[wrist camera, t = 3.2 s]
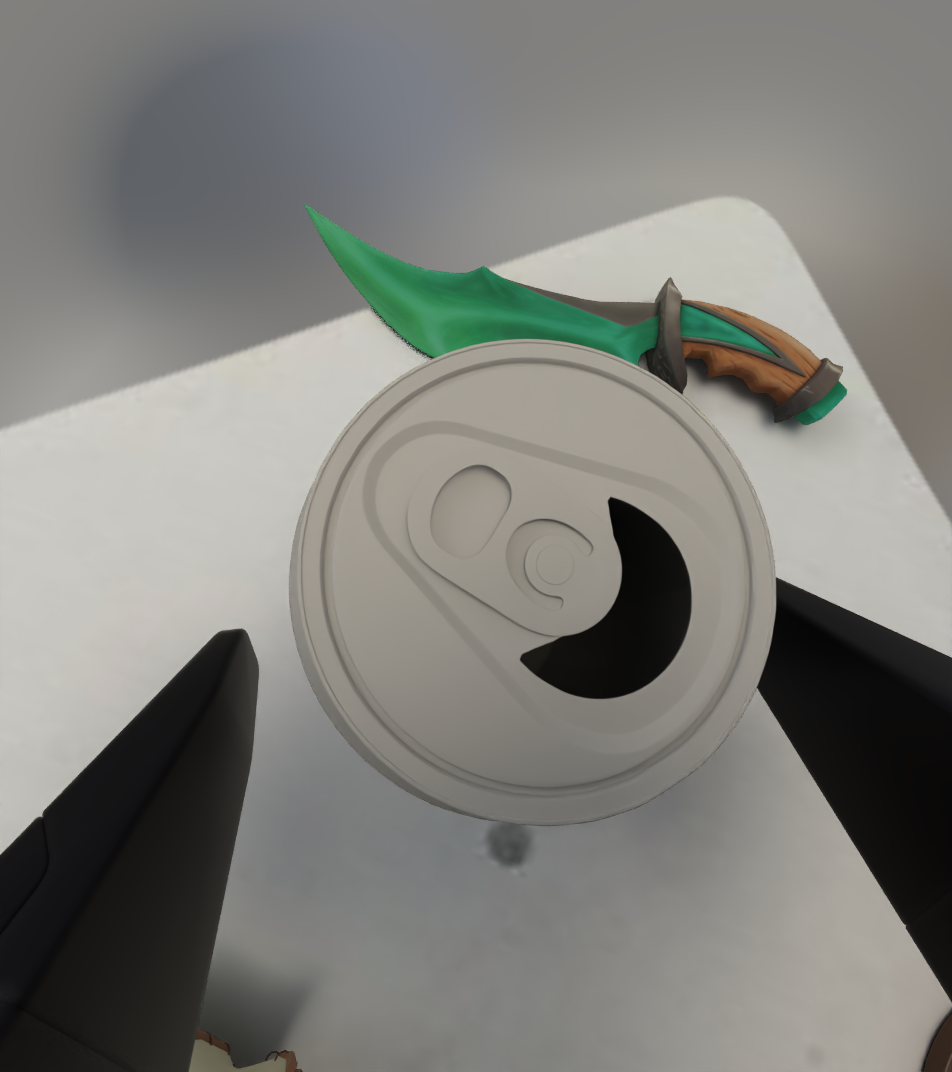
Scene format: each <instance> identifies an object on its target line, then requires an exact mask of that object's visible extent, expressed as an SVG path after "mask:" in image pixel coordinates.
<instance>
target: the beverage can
mask: <svg viewBox="0 0 952 1072" xmlns="http://www.w3.org/2000/svg"><path fill="white" fill-rule="evenodd" d="M289 598H290V612H291V619H292V626H293V632H294V636H295V640H296V645H297V649H298V652H299V655H300V658H301V661H302V664H303V667H304V670H305V673H306V675H307V677H308V680H309V682H310V684H311V687H312V689H313V691H314V693H315V695H316V696H317V698H318V700H319V702H320V704H321V706H322V707H323V709H324V711H325V712H326V714H327V715H328V717H329V718H330V720H331V721H332V723H333V724H334V726H335V727H336V728H337V730H338V731H339V732H340V733H341V735H342V736H343V737H344V738H345V739H346V741H347V742H348V743H349V744H350V745H351V746H352V747H353V749H354V750H355V751H356V752H357V753H358V754H359V755H360V756H361V757H362V758H363V759H364V760H365V761H366V762H368V763H369V764H370V765H371V766H372V767H374V768H375V769H376V770H377V771H378V772H380V773H381V774H382V775H383V776H385V777H386V778H387V779H389V780H390V781H392V782H393V783H394V784H396V785H397V786H399V787H400V788H402V789H404V790H405V791H407V792H409V793H410V794H412V795H414V796H416V797H418V798H420V799H422V800H424V801H426V802H428V803H430V804H433V805H435V806H438V807H440V808H443V809H446V810H449V811H452V812H456V813H459V814H462V815H466V816H470V817H474V818H478V819H484V820H490V821H500V822H506V823H512V824H521V825H534V826H561V825H570V824H578V823H586V822H592V821H597V820H601V819H605V818H608V817H611V816H614V815H617V814H620V813H624V812H627V811H629V810H632V809H635V808H637V807H640V806H642V805H644V804H646V803H648V802H649V801H651V800H653V799H654V798H656V797H658V796H659V795H661V794H662V793H664V792H665V791H667V790H668V789H670V788H671V787H673V786H674V785H676V784H677V783H679V782H680V781H681V780H683V779H684V778H686V777H687V776H688V775H690V774H691V773H693V772H694V771H695V770H696V769H698V768H699V767H700V766H702V765H703V764H704V763H705V762H706V761H707V760H708V759H709V758H710V757H711V756H712V755H713V754H714V752H715V751H716V750H717V749H718V748H719V747H720V745H721V744H722V743H723V742H724V741H725V739H726V738H727V737H728V735H729V734H730V733H731V732H732V730H733V729H734V728H735V726H736V725H737V723H738V722H739V720H740V718H741V717H742V715H743V713H744V712H745V710H746V708H747V706H748V704H749V702H750V701H751V699H752V697H753V695H754V692H755V690H756V688H757V686H758V683H759V680H760V678H761V675H762V672H763V669H764V666H765V663H766V660H767V656H768V653H769V649H770V645H771V640H772V634H773V628H774V621H775V613H776V574H775V563H774V557H773V550H772V545H771V540H770V535H769V530H768V527H767V523H766V519H765V517H764V514H763V511H762V508H761V505H760V502H759V500H758V497H757V495H756V492H755V490H754V488H753V486H752V484H751V482H750V480H749V478H748V476H747V474H746V472H745V470H744V468H743V467H742V465H741V463H740V461H739V459H738V458H737V456H736V455H735V453H734V452H733V450H732V449H731V447H730V446H729V445H728V443H727V442H726V441H725V439H724V438H723V437H722V435H721V434H720V433H719V431H718V430H717V429H716V428H715V426H714V425H713V424H712V423H711V422H710V421H709V420H708V419H707V418H706V417H705V416H704V415H703V414H702V413H701V412H700V411H699V410H698V409H697V408H696V407H695V406H694V405H693V404H692V403H691V402H690V401H689V400H688V399H687V398H685V397H684V396H683V395H682V394H680V393H679V392H678V391H676V390H675V389H674V388H672V387H671V386H670V385H668V384H667V383H665V382H664V381H663V380H661V379H660V378H658V377H657V376H655V375H653V374H652V373H650V372H648V371H646V370H644V369H642V368H640V367H639V366H637V365H634V364H632V363H630V362H628V361H626V360H624V359H621V358H619V357H616V356H614V355H611V354H608V353H606V352H603V351H600V350H596V349H593V348H589V347H586V346H582V345H577V344H572V343H567V342H560V341H552V340H540V339H514V340H502V341H493V342H487V343H482V344H477V345H472V346H468V347H465V348H462V349H458V350H455V351H452V352H449V353H446V354H444V355H441V356H439V357H436V358H434V359H432V360H430V361H428V362H426V363H424V364H421V365H419V366H417V367H416V368H414V369H412V370H410V371H409V372H407V373H405V374H403V375H402V376H400V377H399V378H397V379H396V380H394V381H393V382H392V383H390V384H389V385H388V386H387V387H385V388H384V389H383V390H382V391H380V392H379V393H378V394H376V395H375V396H374V397H373V398H372V399H371V400H370V401H368V402H367V404H366V405H365V406H364V407H363V408H362V409H361V410H360V411H359V412H358V413H357V414H356V416H355V417H354V418H353V419H352V420H351V421H350V422H349V424H348V425H347V426H346V427H345V428H344V430H343V431H342V432H341V434H340V435H339V437H338V438H337V440H336V441H335V443H334V445H333V446H332V448H331V450H330V451H329V453H328V455H327V456H326V458H325V460H324V462H323V463H322V465H321V467H320V469H319V472H318V474H317V476H316V479H315V481H314V483H313V484H312V486H311V488H310V491H309V493H308V496H307V498H306V501H305V503H304V506H303V509H302V511H301V514H300V517H299V520H298V523H297V527H296V531H295V536H294V541H293V547H292V554H291V561H290V575H289Z"/></svg>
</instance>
